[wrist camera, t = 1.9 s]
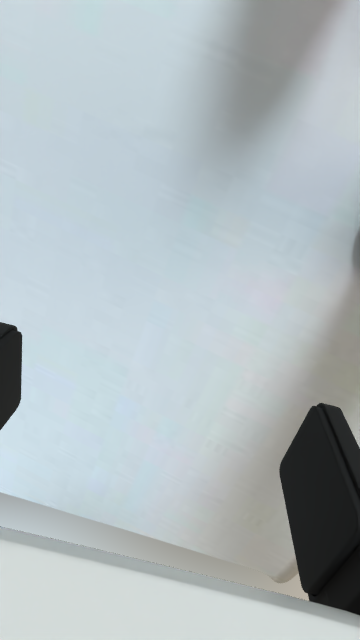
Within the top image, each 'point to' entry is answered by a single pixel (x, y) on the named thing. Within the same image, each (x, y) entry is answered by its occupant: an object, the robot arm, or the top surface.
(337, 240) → the top surface
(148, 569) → the robot arm
